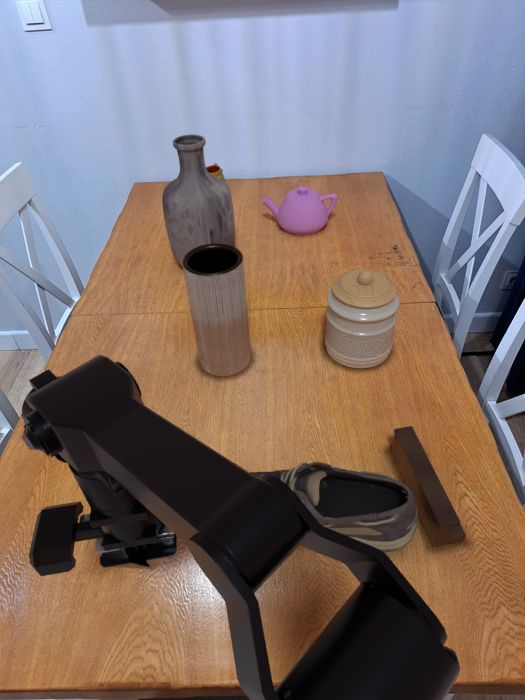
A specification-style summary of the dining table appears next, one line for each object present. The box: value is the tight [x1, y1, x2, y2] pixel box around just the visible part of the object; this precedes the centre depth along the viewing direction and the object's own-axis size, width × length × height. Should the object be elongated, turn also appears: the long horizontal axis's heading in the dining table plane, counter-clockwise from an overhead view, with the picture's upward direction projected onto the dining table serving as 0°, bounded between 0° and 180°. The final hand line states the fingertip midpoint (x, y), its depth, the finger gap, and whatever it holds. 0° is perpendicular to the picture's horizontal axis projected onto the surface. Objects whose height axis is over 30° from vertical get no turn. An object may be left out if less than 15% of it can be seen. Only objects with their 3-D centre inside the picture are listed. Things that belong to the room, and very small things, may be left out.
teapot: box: [262, 185, 339, 236], centre depth 131 cm, size 14×20×11 cm
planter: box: [182, 243, 252, 377], centre depth 88 cm, size 10×10×23 cm
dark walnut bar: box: [390, 425, 467, 548], centre depth 70 cm, size 16×5×6 cm, turn 9°
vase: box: [161, 134, 236, 267], centre depth 112 cm, size 16×16×30 cm
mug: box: [206, 162, 226, 182], centre depth 154 cm, size 12×7×7 cm, turn 173°
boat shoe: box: [248, 461, 419, 553], centre depth 67 cm, size 11×29×11 cm, turn 86°
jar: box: [324, 268, 401, 369], centre depth 90 cm, size 13×13×18 cm
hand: (153, 564), depth 53 cm, fingers closed
